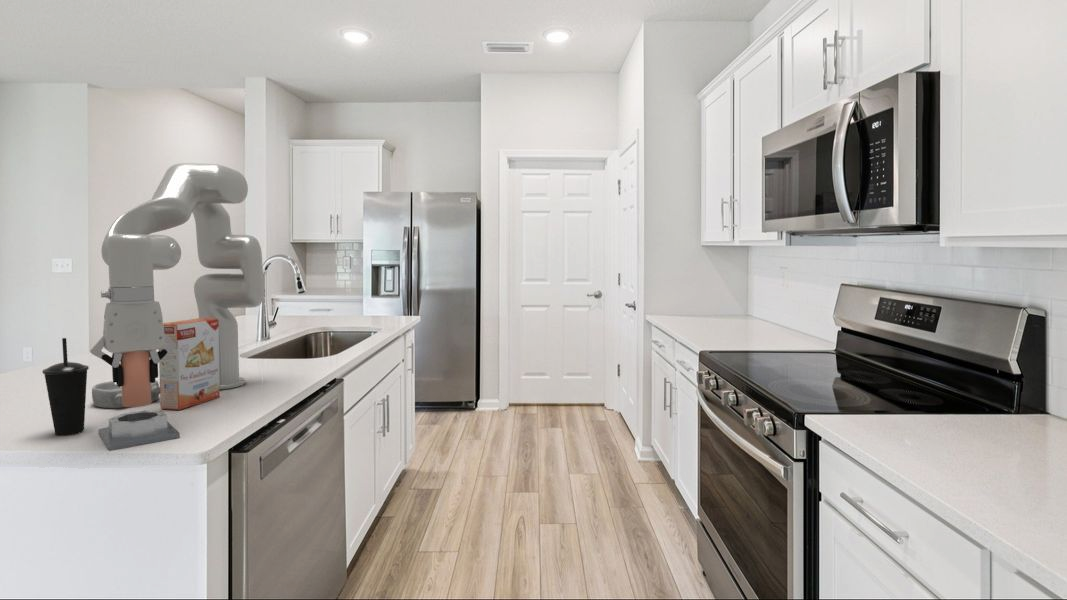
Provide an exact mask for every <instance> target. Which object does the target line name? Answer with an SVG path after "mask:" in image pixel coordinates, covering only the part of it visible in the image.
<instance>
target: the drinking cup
mask: <svg viewBox="0 0 1067 600" xmlns="http://www.w3.org/2000/svg"><path fill="white" fill-rule="evenodd" d="M61 340H62V343H61V344H62V357H63V362H58V363H56V364H53V365H51V366H48V367H47V368H44V369H43V370H42V374H43V375H44V379H45V384H46V385H45V386H46V392H47V397H48V402H49V407H50V412H51V418H52V423H53V430H54V434H55V436H57V437H58V436H60V437H64V436H65V437H66V436H72V434H73V435H77V434H80V433H83V432H84V431H85V421H86V420H85V419H86V418H85V416H86V399H87V396H86V395H87V384H88V383H87V378H88V370H89V369H90V367H89V365H86V364H82V363H79V362H72V361H68V347H67V345H68V344H67V337H62V338H61ZM83 430H84V431H83ZM82 431H83V432H82ZM79 432H80V433H79ZM76 433H77V434H76Z"/></svg>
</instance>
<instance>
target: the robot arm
mask: <svg viewBox="0 0 1067 600" xmlns="http://www.w3.org/2000/svg"><path fill="white" fill-rule="evenodd" d="M248 190H249V186H248V182H247V179H246V177H245V176H244V174H242V173H241V172H240V171H239V170H235V169H233V168H230V167H227V166H224V165H221V164H218V163H193V162H185V163H184V162H182V163H176V164H172V165H171V166H169V167H168V169H166V171H165V172H164V175H163V177H162V179H161V180H160V182H159V184H158V186H157V188H156V190H155V192H154V193H153V196H152V198H151V199H150V200H148V201H145V202H143V203H140V204H139V205H137V206H135V207H134V208H131V209H130V210H128V211H126V212H124V213H123V214H121V215H120V216H119V217H117V218H116V219H115V220H114V221H113V223H112V224H111V226H110V227H109V229H108V231H107V233H106V235H105V236H104V239H103V241H102V244H101V258H102V260H103V261H104V263H105V264H106V265H107V266H108V280H109V284H108V285H109V287H108V288H107V289H105V290H100V296H101V297H100V298H103V299H104V298H105V299H108V300H109V302H106V304H105V307H104V308H105V309H104V318H103V328H102V329H103V331H102V333H103V335H102V336H101V338H100V339H99V340H98V341H97V342H96V343H95V344H94V346H92V347H91V349H90V354H91V355H93V356H94V357H97V358H99V359H100V360H102V361H104V362H105V363H107V364H108V365H110V366H111V369H112V370H111V372H112V373H111V374H112V381H113V383H115V384H116V385H117V386H118V387H122V386H123V370H122V367H121V363H120V360H121V357H122V354H123V353H128V352H135V351H149V357H150V382H152V383H155V380H156V379H158V378H159V362H160V360H161V359H162V358H163V357H164V356H165V355H166V354H167V353H168V352H169V351H171V350H172V349H173V348H174V347H175V346H176V344H175V343H174V342H173V341H172V340H171V339H170V338H169V337H168V336H167V335H166V334H165V333H164V325H163V323H164V319H163V313H162V307H161V303H160V302H159V301H157V300H155V288H154V287H155V283H154V281H155V280H154V271H164V270H169V269H172V268H174V267H176V266H177V264H178V263H179V262H180V260H181V257H182V249H181V246H180V244H179V243H178V241H177V240H176V239H175V238H173V237H171V236H169V235H164V234H155V233H158V232H163V231H166V230H171V229H172V228H177V227H179V226H182V225H183V224H185V223H187V222H188V221H189V220H190V217H191V216H193V218H194V221H195V222H194V223H195V233H196V247H197V248H196V249H197V257H198V261H199V264H200V265H201V266H202V267H204V268H205V269H206V268H207V269H212V270H240V271H241V272H242V273H208V274H204V275H201V276H199V277H197V279H196V280H195V282H194V284H193V285H194V286H193V292H194V293H193V294H194V298H195V302H196V306H197V311H198V318H214V319H218V322H219V380H220V391H221V390H228V389H234V388H238V387H241V386H243V385H245V384H246V379H245V378H244V377H241V376H240V363H239V362H240V360H239V357H240V356H239V333H238V332H239V331H238V330H239V328H238V327H239V326H238V325H239V324H238V321H237V319H236V317H235V316H234V314H233V313H232V312H231V311H230V309H233V308H234V309H235V308H236V309H237V308H238V309H239V308H240V309H243V308H244V309H245V308H246V309H247V308H256V307H259V306H261V304H262V302H263V301H264V296H265V293H264V292H265V288H264V287H265V285H264V270H263V267H264V266H263V254H262V248H261V244H260V242H259V240H258V239H257V238H256V237H255V236H252V235H248V234H233V233H232V228H231V227H232V226H231V225H232V224H231V217H230V214H229V212H228V211H227V210H226V208H225V207H224V205H222V204H228V205H229V204H232V205H234V204H241V203H242V202H244V201H245V200H246V198H247V196H248V192H249V191H248ZM192 214H193V215H192ZM164 345H165V346H164ZM103 348H104V349H105V350H106V351H108V352H109V353H111V356H110V355H108V354H107V353H105V352H104V351H102V350H103ZM161 348H162V349H161ZM159 349H160V350H159ZM157 350H158V351H157Z"/></svg>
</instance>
